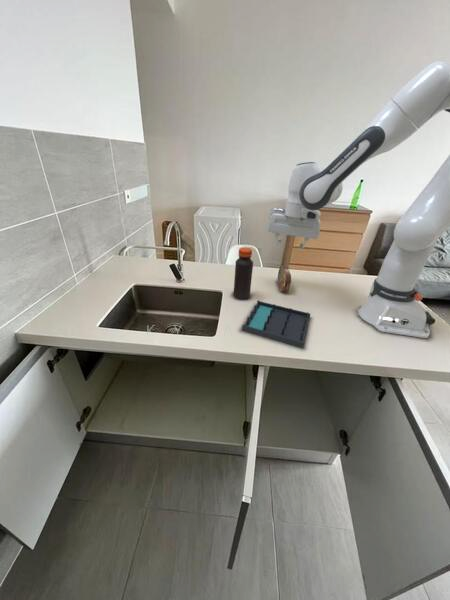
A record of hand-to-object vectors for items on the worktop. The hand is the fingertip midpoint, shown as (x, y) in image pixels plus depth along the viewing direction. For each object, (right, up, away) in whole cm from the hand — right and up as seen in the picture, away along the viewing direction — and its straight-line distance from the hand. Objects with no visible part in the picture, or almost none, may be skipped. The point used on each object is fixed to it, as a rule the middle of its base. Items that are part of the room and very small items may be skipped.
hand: (290, 245), depth 100 cm
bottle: (-20, -21, +2) cm, 29 cm away
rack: (-8, -31, -14) cm, 35 cm away
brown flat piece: (-1, -17, +10) cm, 19 cm away
